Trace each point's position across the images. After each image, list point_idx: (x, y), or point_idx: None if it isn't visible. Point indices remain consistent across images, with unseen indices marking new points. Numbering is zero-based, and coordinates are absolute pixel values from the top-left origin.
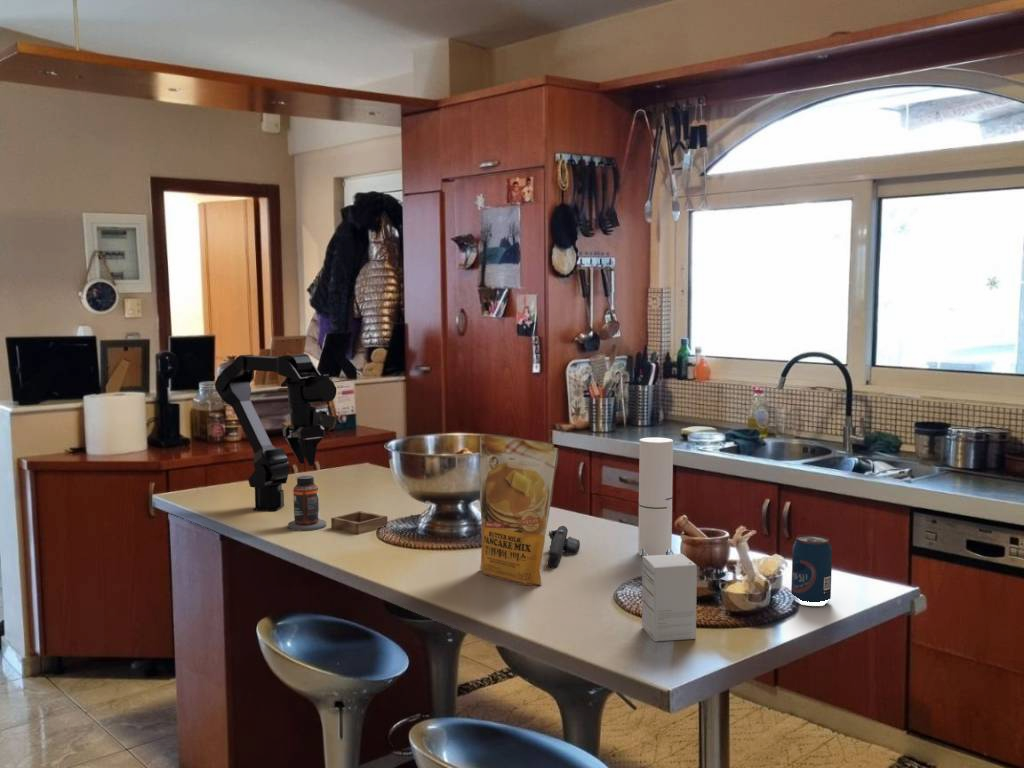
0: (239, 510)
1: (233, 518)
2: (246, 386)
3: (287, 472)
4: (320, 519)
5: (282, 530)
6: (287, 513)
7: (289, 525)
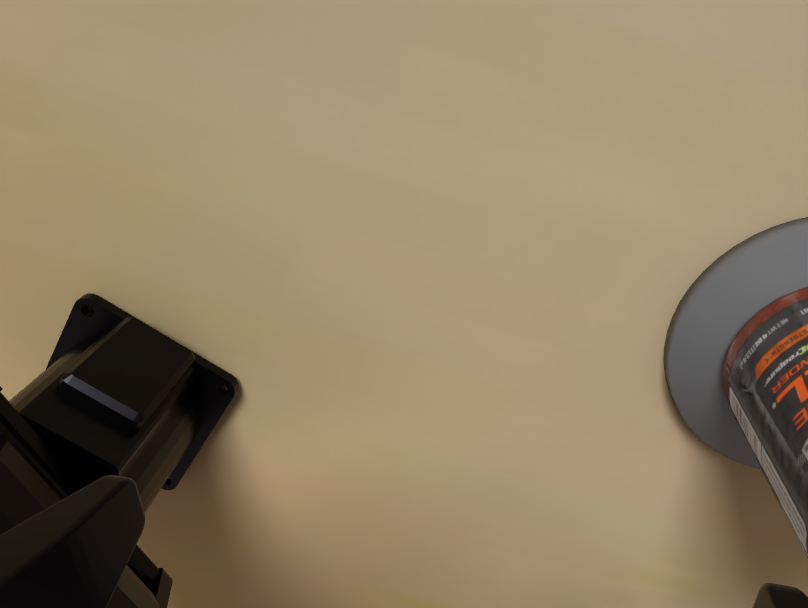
0: None
1: (328, 599)
2: None
3: (10, 475)
4: (783, 238)
5: None
6: (329, 337)
7: None
